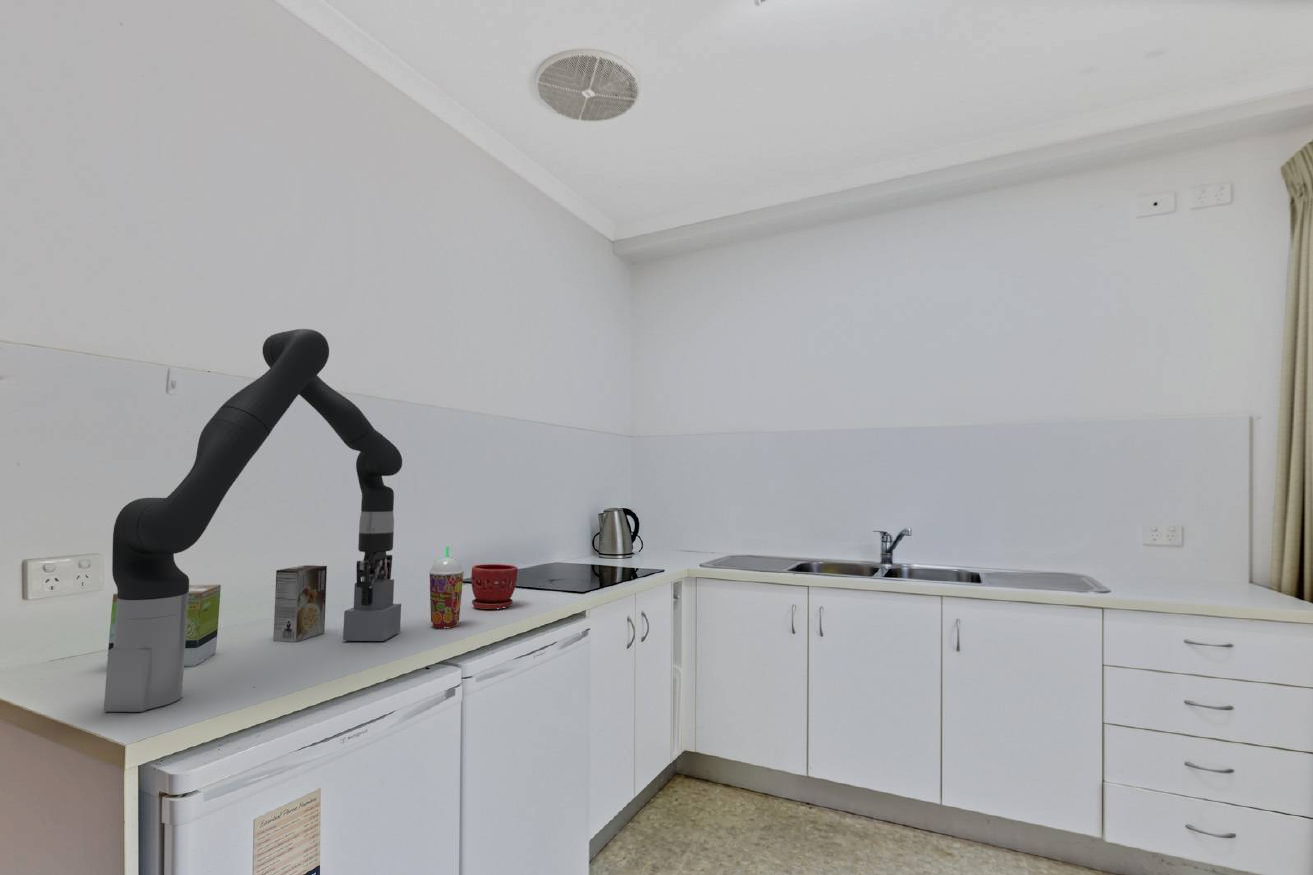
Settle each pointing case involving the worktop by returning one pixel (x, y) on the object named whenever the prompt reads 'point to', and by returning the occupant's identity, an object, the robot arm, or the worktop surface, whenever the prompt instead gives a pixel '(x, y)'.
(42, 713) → the worktop surface
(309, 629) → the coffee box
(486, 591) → the plant pot
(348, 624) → the stepped grey block
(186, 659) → the tea box
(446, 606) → the smoothie
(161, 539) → the robot arm
